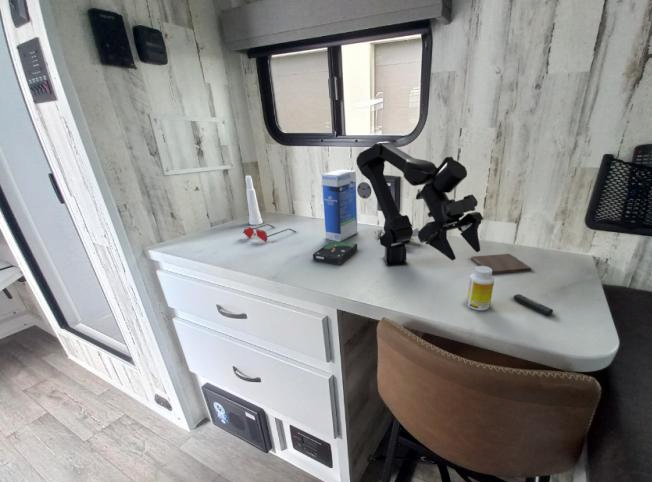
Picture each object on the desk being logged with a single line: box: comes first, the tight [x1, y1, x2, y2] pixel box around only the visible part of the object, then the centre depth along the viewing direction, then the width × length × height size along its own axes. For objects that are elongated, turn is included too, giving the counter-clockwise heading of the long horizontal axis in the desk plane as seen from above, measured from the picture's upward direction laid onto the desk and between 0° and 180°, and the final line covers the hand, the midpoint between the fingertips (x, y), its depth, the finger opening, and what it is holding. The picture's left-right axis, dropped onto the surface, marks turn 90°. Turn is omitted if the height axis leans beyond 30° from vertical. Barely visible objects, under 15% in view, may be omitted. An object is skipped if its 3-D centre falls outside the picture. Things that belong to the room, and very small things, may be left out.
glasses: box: [242, 223, 297, 243], centre depth 129 cm, size 14×16×5 cm
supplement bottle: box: [466, 265, 495, 311], centre depth 75 cm, size 6×6×10 cm
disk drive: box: [312, 240, 358, 265], centre depth 108 cm, size 10×3×15 cm
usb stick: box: [513, 293, 554, 316], centre depth 76 cm, size 10×3×2 cm, turn 31°
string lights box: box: [321, 169, 358, 242], centre depth 123 cm, size 13×8×26 cm, turn 150°
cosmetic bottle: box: [244, 174, 264, 226], centre depth 142 cm, size 6×6×22 cm
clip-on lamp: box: [374, 227, 420, 242], centre depth 121 cm, size 12×6×18 cm
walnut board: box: [470, 253, 532, 275], centre depth 100 cm, size 14×12×1 cm
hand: (466, 255), depth 77 cm, fingers open, 9 cm apart
